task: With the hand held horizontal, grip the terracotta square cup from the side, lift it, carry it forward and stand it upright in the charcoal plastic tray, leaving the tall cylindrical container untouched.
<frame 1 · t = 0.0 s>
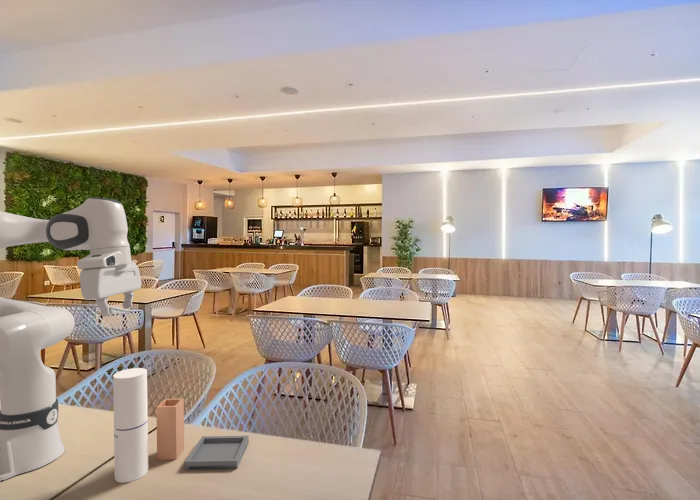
hand: (117, 311, 97), 39 cm above the table, tool pointing down, fingers open, 8 cm apart
tray: (218, 455, 99), on the table
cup: (171, 454, 100), on the table
cylindrical container: (131, 474, 91), on the table
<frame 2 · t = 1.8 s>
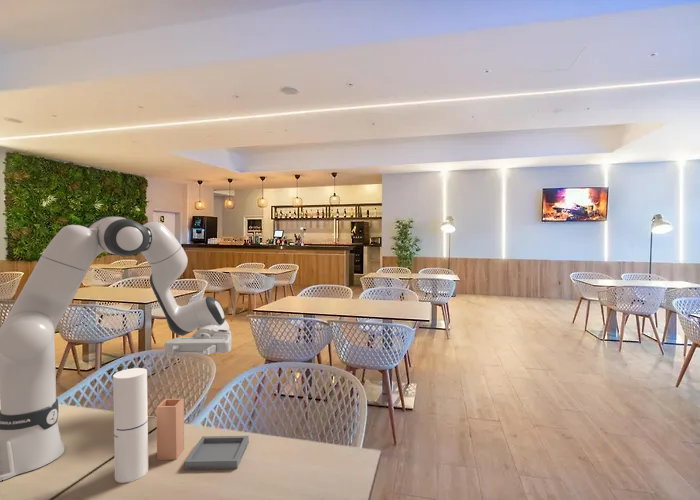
hand: (189, 352, 112), 24 cm above the table, tool horizontal, fingers open, 8 cm apart
nothing on the table moved.
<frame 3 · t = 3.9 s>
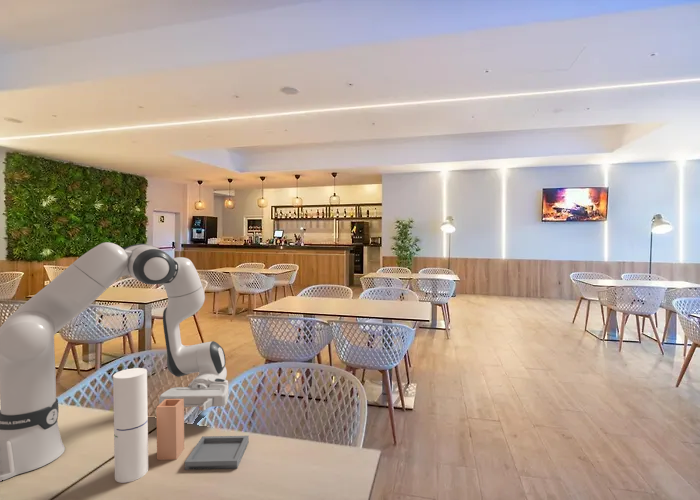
hand: (185, 408, 109), 8 cm above the table, tool horizontal, fingers open, 8 cm apart
nothing on the table moved.
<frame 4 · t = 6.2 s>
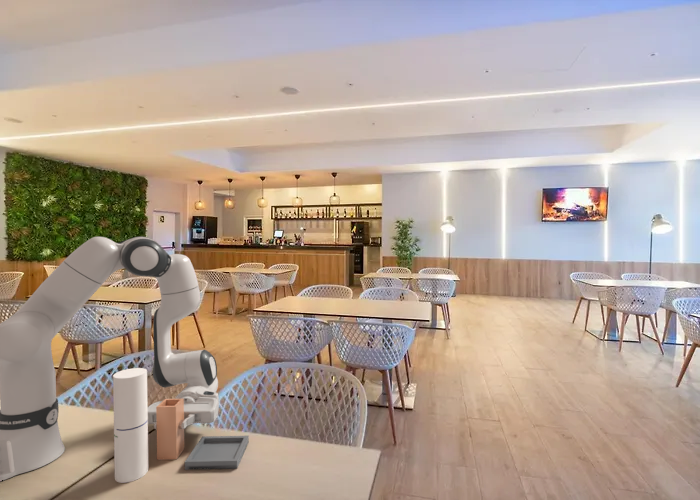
hand: (169, 426, 99), 8 cm above the table, tool horizontal, fingers closed on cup, 5 cm apart
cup: (171, 454, 100), on the table, touching gripper
everything else where it was.
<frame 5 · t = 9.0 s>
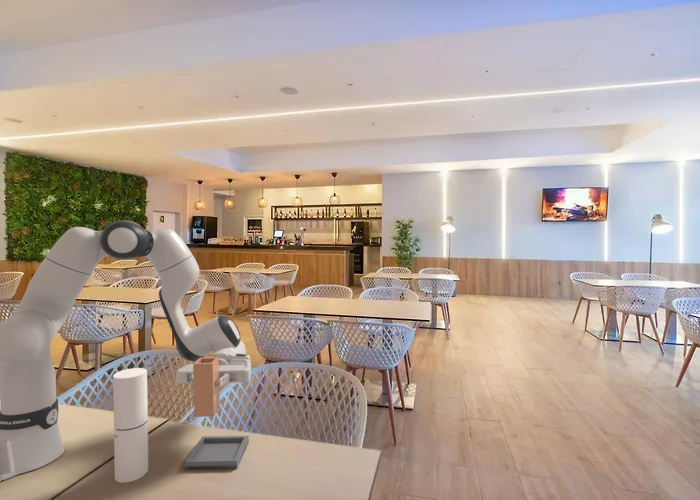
hand: (205, 383, 98), 19 cm above the table, tool horizontal, fingers closed on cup, 5 cm apart
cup: (207, 412, 99), point 11 cm above the table, touching gripper
everything else where it was.
when the fingers open (10 cm above the table, at t = 11.9 s): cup drops 1 cm, resting on tray.
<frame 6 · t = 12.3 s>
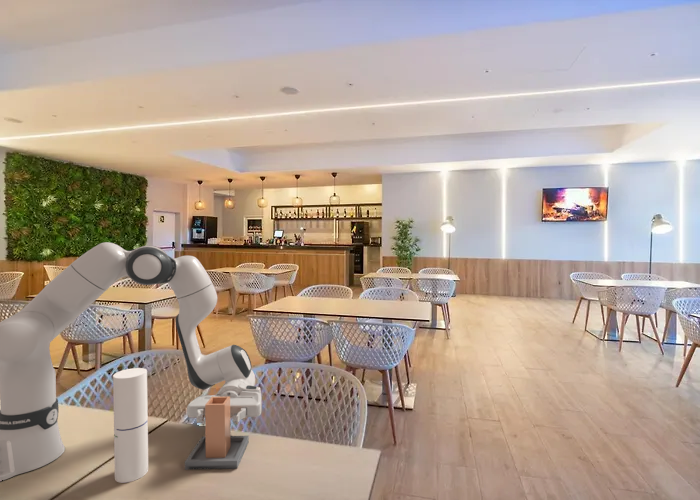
hand: (217, 420, 98), 10 cm above the table, tool horizontal, fingers open, 8 cm apart
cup: (218, 452, 99), point 1 cm above the table, touching tray
everything else where it was.
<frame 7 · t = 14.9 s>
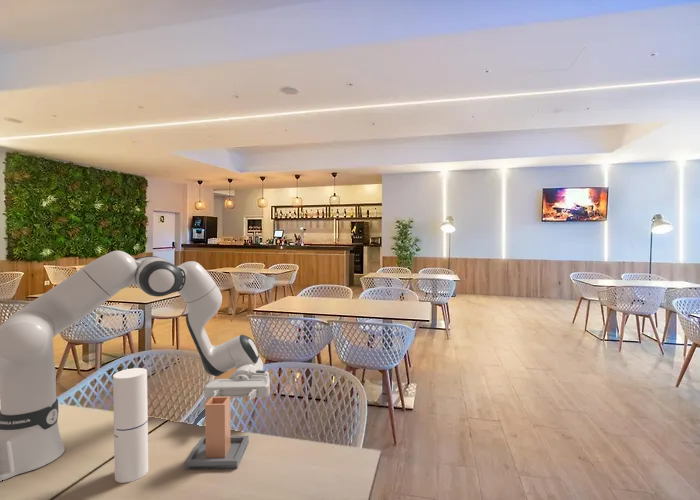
hand: (231, 398, 111), 10 cm above the table, tool horizontal, fingers open, 8 cm apart
nothing on the table moved.
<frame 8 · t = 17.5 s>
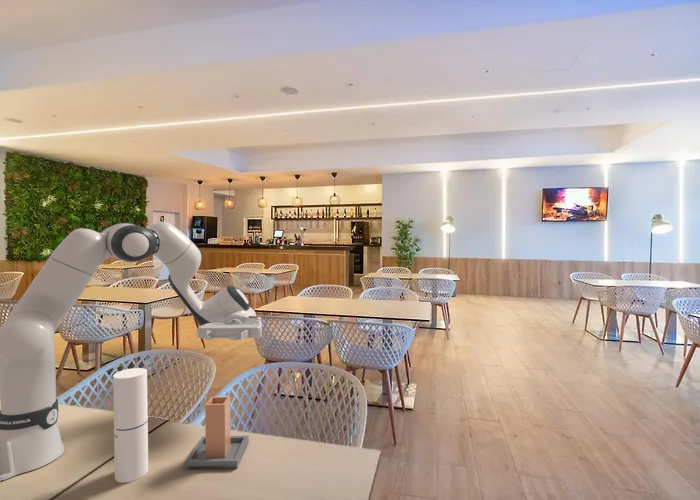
hand: (223, 336, 113), 28 cm above the table, tool horizontal, fingers open, 8 cm apart
nothing on the table moved.
at the end: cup 0.1 cm off-centre on the tray, point 0.8 cm above the tray's base; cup tilted 0°; the gripper is holding nothing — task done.
